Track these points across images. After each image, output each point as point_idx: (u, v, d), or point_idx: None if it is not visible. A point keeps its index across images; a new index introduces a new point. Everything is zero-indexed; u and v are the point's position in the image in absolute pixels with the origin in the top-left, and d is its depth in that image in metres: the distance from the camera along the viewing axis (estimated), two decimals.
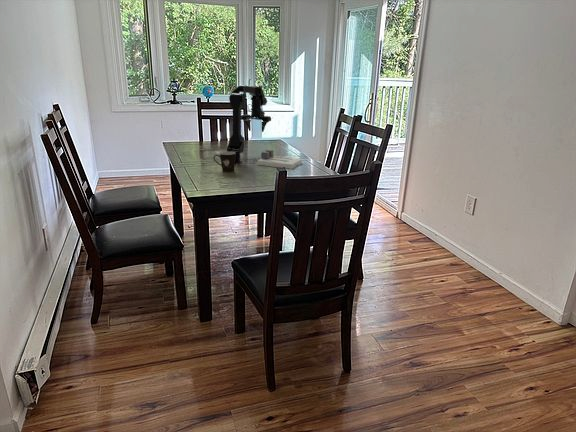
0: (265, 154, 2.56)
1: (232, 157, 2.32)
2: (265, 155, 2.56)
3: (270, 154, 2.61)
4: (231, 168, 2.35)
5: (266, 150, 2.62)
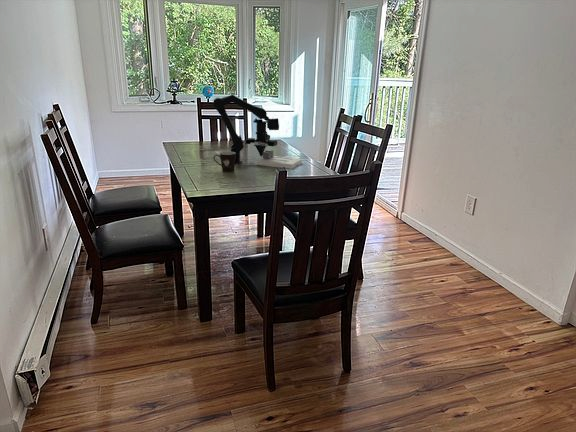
0: (267, 154, 2.56)
1: (232, 157, 2.32)
2: (267, 155, 2.56)
3: None
4: (231, 168, 2.35)
5: (266, 150, 2.62)
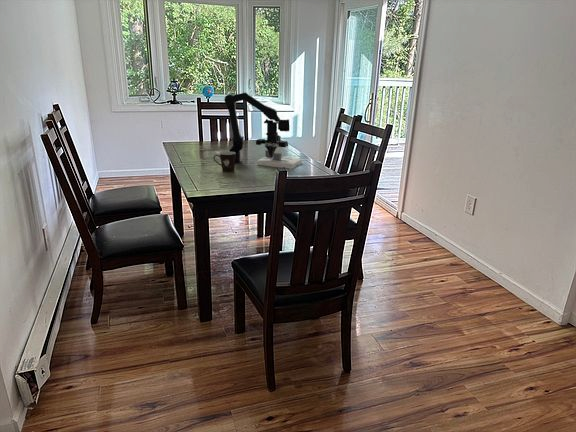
0: (277, 155, 2.53)
1: (232, 157, 2.32)
2: (277, 156, 2.53)
3: None
4: (231, 168, 2.35)
5: (266, 150, 2.62)
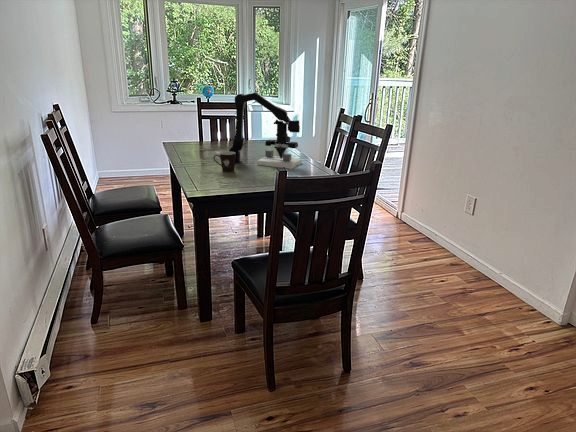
0: (287, 156, 2.51)
1: (232, 157, 2.32)
2: (287, 157, 2.51)
3: (270, 154, 2.61)
4: (231, 168, 2.35)
5: (266, 150, 2.62)
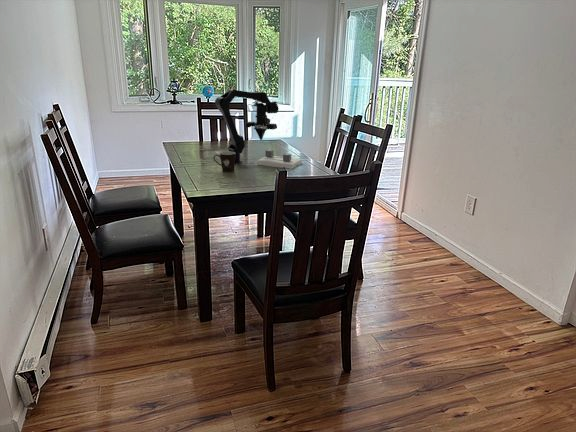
0: (287, 156, 2.51)
1: (232, 157, 2.32)
2: (287, 157, 2.51)
3: (270, 154, 2.61)
4: (231, 168, 2.35)
5: (266, 150, 2.62)
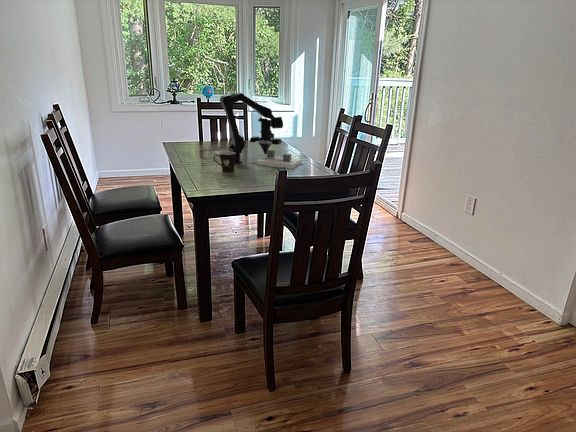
0: (287, 156, 2.51)
1: (232, 157, 2.32)
2: (287, 157, 2.51)
3: (272, 154, 2.61)
4: (231, 168, 2.35)
5: (268, 150, 2.62)
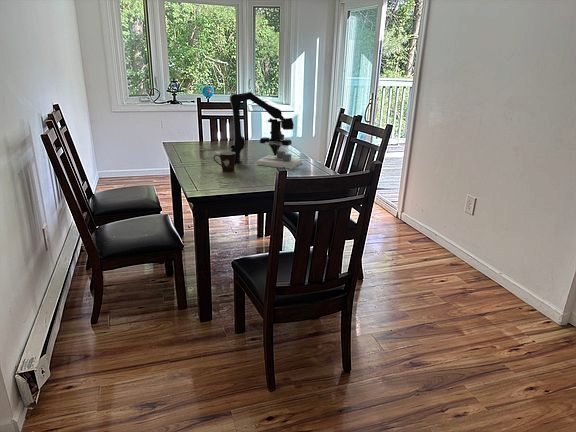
0: (287, 156, 2.51)
1: (232, 157, 2.32)
2: (287, 157, 2.51)
3: (282, 155, 2.59)
4: (231, 168, 2.35)
5: (278, 151, 2.60)
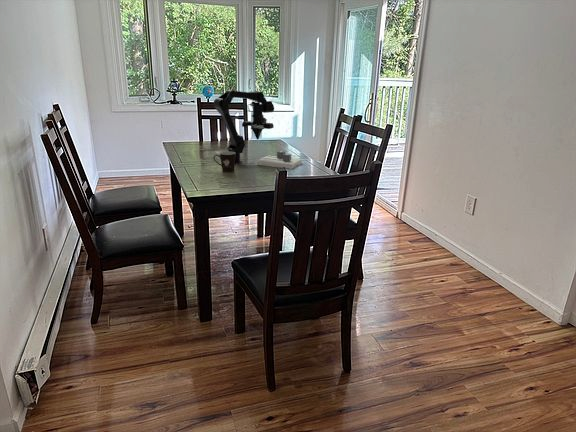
0: (287, 156, 2.51)
1: (232, 157, 2.32)
2: (287, 157, 2.51)
3: (282, 155, 2.59)
4: (231, 168, 2.35)
5: (278, 151, 2.60)
